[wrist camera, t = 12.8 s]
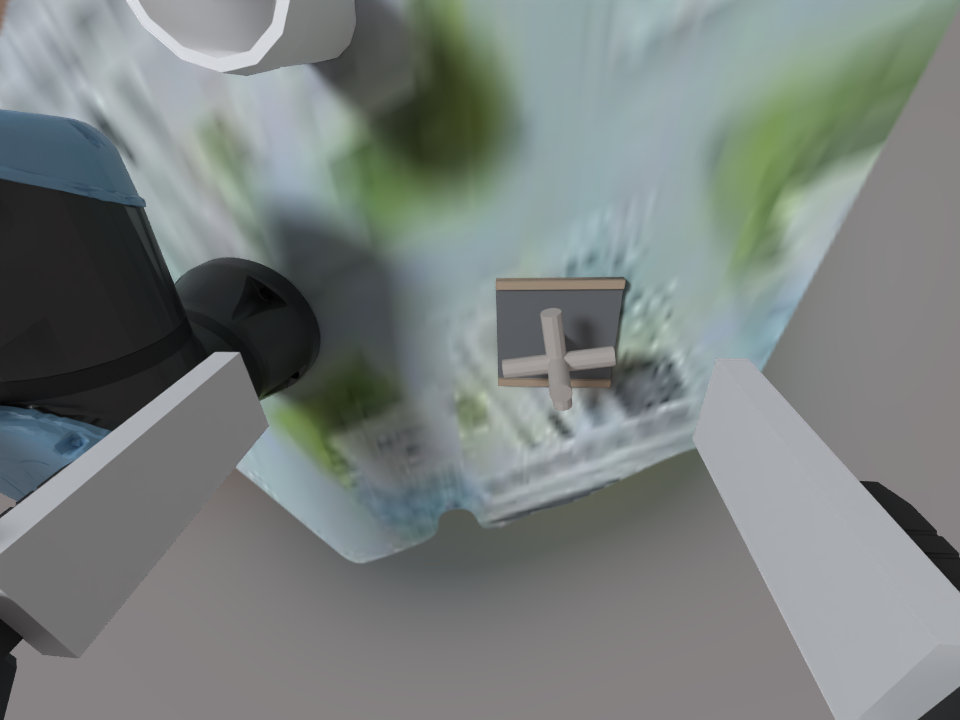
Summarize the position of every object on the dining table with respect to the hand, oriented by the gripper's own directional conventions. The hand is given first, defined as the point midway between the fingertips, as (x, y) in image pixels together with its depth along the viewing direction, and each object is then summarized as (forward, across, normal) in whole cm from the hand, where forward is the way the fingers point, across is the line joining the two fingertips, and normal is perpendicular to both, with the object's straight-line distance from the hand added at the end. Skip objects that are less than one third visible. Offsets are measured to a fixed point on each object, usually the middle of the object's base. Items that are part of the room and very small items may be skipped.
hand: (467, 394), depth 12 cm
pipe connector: (+28, +5, -13) cm, 31 cm away
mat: (+29, +5, -13) cm, 32 cm away
